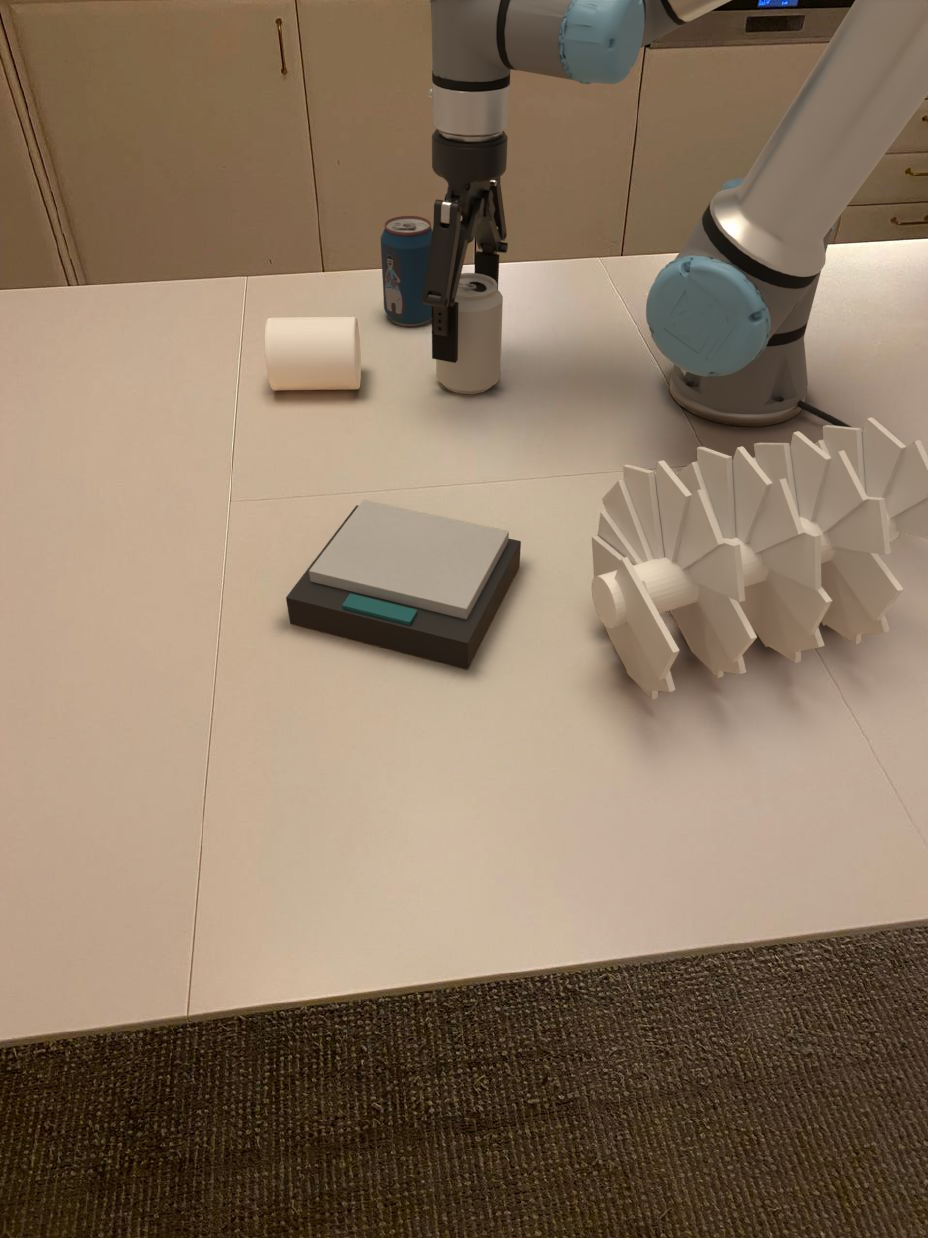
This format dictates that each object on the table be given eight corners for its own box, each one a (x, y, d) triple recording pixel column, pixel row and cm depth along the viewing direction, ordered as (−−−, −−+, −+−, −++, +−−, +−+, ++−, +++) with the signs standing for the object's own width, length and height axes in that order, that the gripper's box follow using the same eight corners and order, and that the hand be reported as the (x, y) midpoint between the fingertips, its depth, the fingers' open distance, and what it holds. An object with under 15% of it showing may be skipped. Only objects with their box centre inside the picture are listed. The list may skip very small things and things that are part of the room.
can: (510, 390, 110) (514, 290, 102) (450, 402, 108) (449, 300, 100) (485, 362, 116) (487, 264, 108) (427, 373, 114) (425, 274, 105)
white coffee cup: (358, 401, 108) (353, 335, 103) (270, 403, 108) (261, 337, 103) (363, 353, 117) (359, 290, 112) (282, 354, 117) (273, 291, 112)
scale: (519, 567, 86) (521, 529, 83) (467, 670, 77) (468, 631, 74) (358, 530, 90) (355, 494, 87) (289, 624, 81) (283, 586, 78)
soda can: (440, 306, 127) (439, 214, 119) (433, 329, 122) (432, 235, 114) (389, 304, 128) (384, 212, 120) (380, 327, 123) (375, 232, 115)
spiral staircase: (572, 673, 82) (818, 595, 88) (676, 751, 66) (969, 648, 71) (536, 465, 76) (801, 396, 82) (640, 494, 60) (962, 405, 66)
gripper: (475, 94, 103) (471, 285, 118) (384, 162, 86) (392, 376, 100) (542, 102, 101) (529, 294, 116) (462, 173, 84) (459, 389, 98)
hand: (466, 333), depth 108 cm, fingers open, 13 cm apart
